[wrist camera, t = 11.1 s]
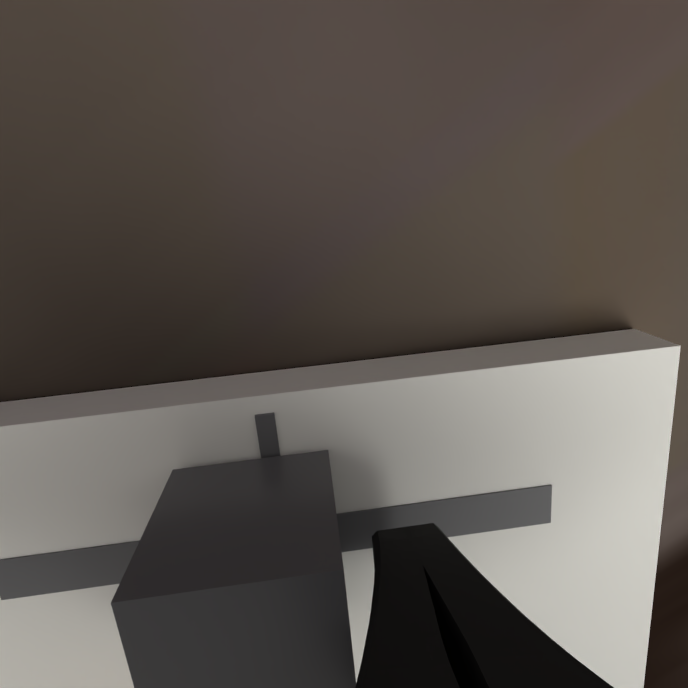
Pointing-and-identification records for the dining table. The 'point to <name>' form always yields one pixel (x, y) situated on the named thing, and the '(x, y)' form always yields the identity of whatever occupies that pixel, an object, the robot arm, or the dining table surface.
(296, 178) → the dining table surface
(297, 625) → the black fader
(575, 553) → the fader panel
